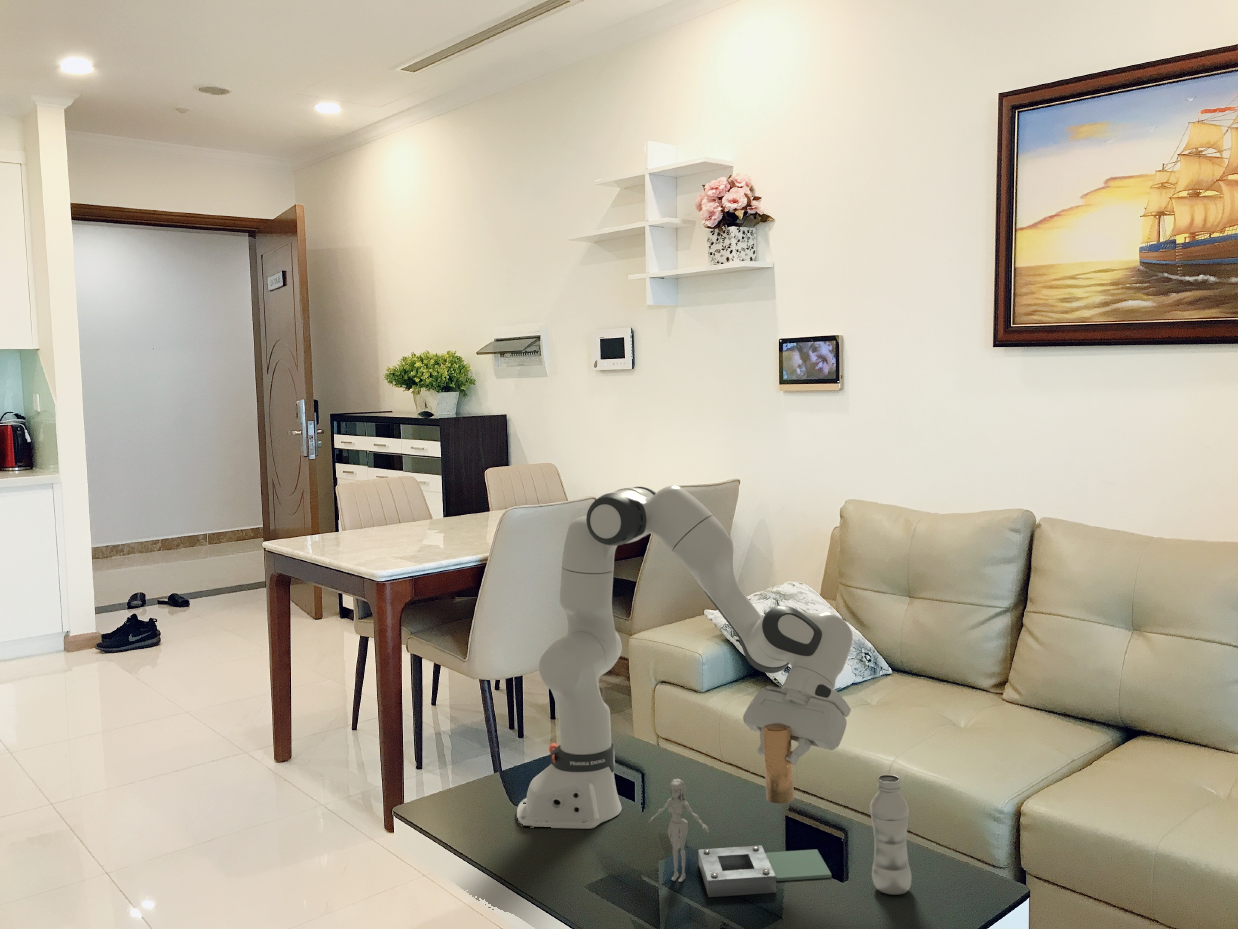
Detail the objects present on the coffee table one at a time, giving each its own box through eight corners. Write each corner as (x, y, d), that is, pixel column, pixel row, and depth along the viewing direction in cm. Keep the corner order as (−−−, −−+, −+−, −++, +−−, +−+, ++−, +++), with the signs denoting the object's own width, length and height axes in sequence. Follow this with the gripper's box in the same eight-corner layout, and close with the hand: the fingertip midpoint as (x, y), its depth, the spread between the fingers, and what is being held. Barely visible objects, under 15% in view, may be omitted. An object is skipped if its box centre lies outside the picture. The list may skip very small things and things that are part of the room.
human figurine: (646, 875, 178) (642, 779, 177) (654, 866, 181) (651, 772, 180) (707, 887, 172) (703, 789, 171) (714, 878, 176) (711, 781, 175)
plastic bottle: (913, 901, 165) (911, 786, 164) (872, 898, 166) (869, 785, 165) (910, 882, 171) (907, 772, 170) (870, 880, 172) (867, 770, 171)
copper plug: (769, 804, 174) (765, 731, 173) (763, 793, 179) (760, 723, 178) (796, 802, 174) (793, 730, 173) (790, 791, 179) (787, 721, 178)
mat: (776, 881, 173) (776, 878, 173) (765, 855, 183) (765, 852, 183) (831, 877, 174) (831, 874, 174) (817, 852, 184) (817, 849, 184)
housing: (708, 897, 169) (707, 878, 169) (698, 865, 181) (698, 847, 181) (776, 892, 169) (775, 873, 169) (762, 861, 181) (761, 843, 181)
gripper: (754, 675, 188) (724, 738, 182) (843, 693, 173) (813, 762, 167) (770, 692, 191) (740, 754, 185) (859, 711, 176) (830, 780, 170)
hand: (776, 758), depth 176 cm, fingers closed on copper plug, 5 cm apart
